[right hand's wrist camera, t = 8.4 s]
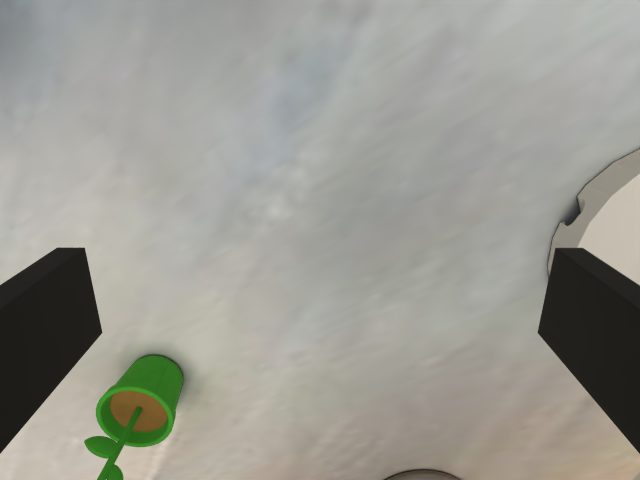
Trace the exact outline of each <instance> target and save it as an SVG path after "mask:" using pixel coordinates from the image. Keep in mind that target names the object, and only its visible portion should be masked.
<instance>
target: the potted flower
mask: <svg viewBox="0 0 640 480" xmlns="http://www.w3.org/2000/svg"><path fill="white" fill-rule="evenodd" d="M182 385H183V376H182V373H181V371H180V369H179V368H178V366H177V365H176V364H175V363H174V362H172V361H171V360H169V359H167V358H165V357H161V356H155V355H153V356H145V357H143V358H140V359H138V360H137V361H135V362H134V364H133V365H132V366H131V367H130V368H129V369H128V370H127V372H126V373H125V374H124V375H123V376H122V377H121V379H120V380H119V381H118V382H117V383H116V384H115V385H114V386H112V387H111V388H110V389H109V390H108V391H107V392H106V393H105V394H104V395H103V396H102V398H101V399H100V400H99V402H98V404H97V408H96V417H97V421H98V423H99V425H100V427H101V428H102V430H103V431H104V432H105V433H106V434H107V435H108V436H109V437H110V438H112V439H110V438H108V437H104V436H95V437H91V438H89V439H86V440H85V441H84V443H85V445H86V447H87V448H88V450H89V451H90V452H92V453H93V454H95V455H96V456H99V457H102V458H109V459H108V461H107V463H106V464H105V466H104V468H103V470H102V472H101V473H100V475H99V477H98V479H97V480H106V479H107V480H123V474H122V471H121V470H120V468H119V467H118V466H116V465H114V463H115V461H116V459H117V457H118V455H119V454H120V452H121V450H122V448H123V446H124V445H128V446H133V447H147V446H152V445H155V444H158V443H160V442H161V441H163V440H164V439H165V438H166V437H167V436H168V435H169V434H170V432H171V430H172V427H173V424H174V420H175V413H176V411H175V410H176V406H177V403H178V399H179V395H180V392H181V388H182ZM113 439H114V440H115V441H114V440H113ZM116 441H117V442H118V443H117V442H116Z"/></svg>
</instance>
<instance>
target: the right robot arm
mask: <svg viewBox="0 0 640 480" xmlns="http://www.w3.org/2000/svg"><path fill="white" fill-rule="evenodd" d="M101 334H102V329H101V324H100V319H99V314H98V310H97V305H96V300H95V295H94V290H93V286H92V281H91V276H90V271H89V266H88V261H87V257H86V252H85V248H56V249H55V250H53V251H52V252H50V253H49V254H47V255H45V256H44V257H42V258H41V259H39V260H38V261H36V262H35V263H33V264H32V265H30V266H29V267H27V268H26V269H24V270H23V271H21V272H20V273H18V274H17V275H15V276H14V277H12V278H11V279H9V280H8V281H6V282H4V283H3V284H1V285H0V453H1V452H2V451H3V450H4V449H5V447H6V446H7V445H8V444H9V443H10V441H11V440H12V439H13V438H14V437H15V436H16V434H17V433H18V432H19V431H20V430H21V428H22V427H23V426H24V425H25V424H26V423H27V421H28V420H29V419H30V418H31V417H32V415H33V414H34V413H35V412H36V411H37V409H38V408H39V407H40V406H41V405H42V404H43V402H44V401H45V400H46V399H47V398H48V396H49V395H50V394H51V393H52V392H53V391H54V389H55V388H56V387H57V386H58V385H59V383H60V382H61V381H62V380H63V379H64V377H65V376H66V375H67V374H68V373H69V372H70V370H71V369H72V368H73V367H74V366H75V364H76V363H77V362H78V361H79V360H80V358H81V357H82V356H83V355H84V354H85V353H86V351H87V350H88V349H89V348H90V347H91V345H92V344H93V343H94V342H95V341H96V340H97V338H98V337H99V336H100V335H101ZM538 334H539V335H540V336H541V337H542V338H543V340H544V341H545V342H546V343H547V344H548V345H549V347H550V348H551V349H552V350H553V351H554V353H555V354H556V355H557V356H558V357H559V358H560V360H561V361H562V362H563V363H564V364H565V366H566V367H567V368H568V369H569V370H570V372H571V373H572V374H573V375H574V376H575V377H576V379H577V380H578V381H579V382H580V383H581V385H582V386H583V387H584V388H585V389H586V391H587V392H588V393H589V394H590V395H591V396H592V398H593V399H594V400H595V401H596V402H597V404H598V405H599V406H600V407H601V408H602V409H603V411H604V412H605V413H606V414H607V415H608V417H609V418H610V419H611V420H612V421H613V423H614V424H615V425H616V426H617V427H618V428H619V430H620V431H621V432H622V433H623V434H624V436H625V437H626V438H627V439H628V440H629V441H630V443H631V444H632V445H633V446H634V447H635V449H636V450H637V451H638V452H639V453H640V285H639V284H637V283H636V282H634V281H632V280H631V279H629V278H628V277H626V276H625V275H623V274H622V273H620V272H619V271H617V270H616V269H614V268H613V267H611V266H610V265H608V264H607V263H605V262H604V261H602V260H601V259H599V258H598V257H596V256H595V255H593V254H591V253H590V252H588V251H587V250H585V249H584V248H555V252H554V257H553V261H552V266H551V271H550V276H549V281H548V286H547V290H546V295H545V300H544V305H543V310H542V314H541V319H540V324H539V329H538ZM387 480H459V479H457V478H455V477H453V476H451V475H449V474H446V473H442V472H437V471H430V470H418V471H410V472H405V473H401V474H398V475H395V476H393V477H391V478H389V479H387Z"/></svg>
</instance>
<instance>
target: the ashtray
mask: <svg viewBox="0 0 640 480" xmlns="http://www.w3.org/2000/svg"><path fill="white" fill-rule="evenodd" d="M577 197H578V202H579V206H580V210H581V214H580V215H579V216H578V217H577V218H576V220H575V221H574V222H573V223H572V224H571V225H569V226H566V225H565V223H564V222H560V224H559V226H558V228H557V231H556V233H555V235H554V237H553V240H552V246H551V251H550V256H549V262H548V272H549V276H550V271H551V266H552V261H553V257H554V252H555V248H584V249H585V250H587V251H588V252H590V253H591V254H593V255H595V256H596V257H598V258H599V259H601V260H602V261H604V262H605V263H607V264H608V265H610V266H611V267H613V268H614V269H616V270H617V271H619V272H620V273H622V274H623V275H625V276H626V277H628V278H629V279H631V280H632V281H634V282H636V283H637V284H639V285H640V149H639V150H637V151H635V152H633V153H631V154H629V155H627V156H625V157H623V158H621V159H619V160H617V161H616V162H614V163H612V164H611V165H610V166H609V167H607V168H606V169H605V170H604V171H603V172H601V173H600V174H599V175H598V176H597V177H595V178H594V179H593V180H592V181H590V182H589V183H588V184H587V185H586V186H585V187H584V189H583V190H582V191H581V192H580V194H579V195H578V196H577Z"/></svg>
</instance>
